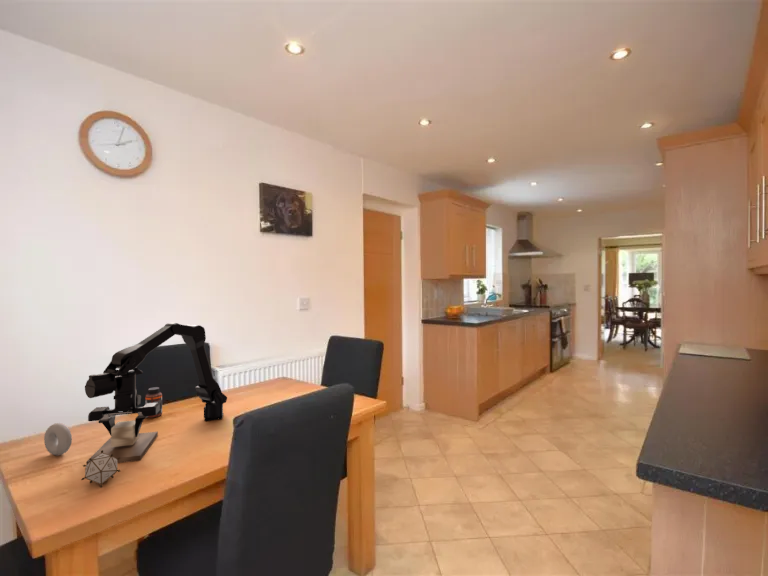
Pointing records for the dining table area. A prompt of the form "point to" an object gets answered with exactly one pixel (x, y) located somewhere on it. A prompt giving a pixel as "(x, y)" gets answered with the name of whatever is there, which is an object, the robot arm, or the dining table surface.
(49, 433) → the donut
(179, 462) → the dining table surface
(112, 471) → the game die
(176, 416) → the dining table surface
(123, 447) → the walnut board
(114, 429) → the maple cube
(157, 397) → the supplement bottle
